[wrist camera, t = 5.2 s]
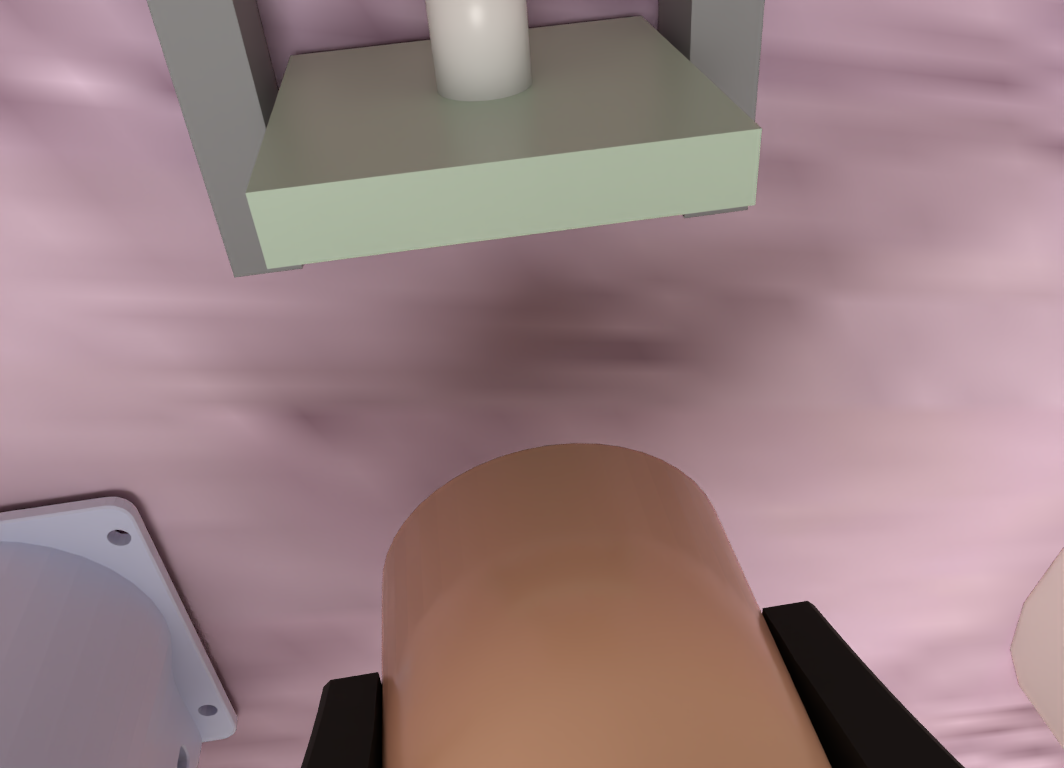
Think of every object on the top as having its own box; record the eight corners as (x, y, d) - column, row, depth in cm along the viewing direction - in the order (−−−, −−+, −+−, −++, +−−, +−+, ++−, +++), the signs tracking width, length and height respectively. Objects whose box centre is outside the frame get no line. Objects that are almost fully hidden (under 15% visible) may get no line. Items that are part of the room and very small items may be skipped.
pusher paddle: (640, 73, 16) (755, 204, 11) (303, 112, 15) (268, 268, 11) (640, -114, 14) (777, -55, 9) (260, -75, 14) (192, 10, 9)
